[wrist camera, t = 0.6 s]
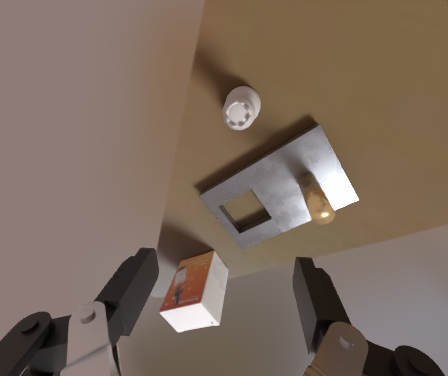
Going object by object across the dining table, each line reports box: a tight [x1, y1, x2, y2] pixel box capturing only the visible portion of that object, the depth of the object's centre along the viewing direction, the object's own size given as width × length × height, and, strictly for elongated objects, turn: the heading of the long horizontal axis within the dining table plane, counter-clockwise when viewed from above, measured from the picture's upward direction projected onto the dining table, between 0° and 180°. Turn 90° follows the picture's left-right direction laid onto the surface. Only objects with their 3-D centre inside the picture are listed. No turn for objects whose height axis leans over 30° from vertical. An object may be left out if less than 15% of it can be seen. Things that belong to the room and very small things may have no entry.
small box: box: [159, 251, 228, 332], centre depth 37 cm, size 8×6×10 cm
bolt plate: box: [199, 123, 359, 249], centre depth 28 cm, size 19×12×10 cm, turn 126°
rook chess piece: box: [222, 86, 261, 130], centre depth 24 cm, size 4×4×8 cm
